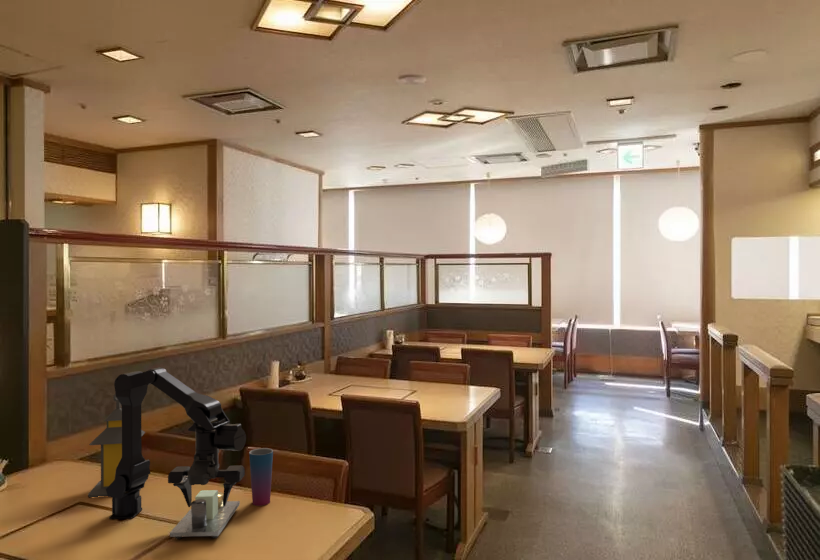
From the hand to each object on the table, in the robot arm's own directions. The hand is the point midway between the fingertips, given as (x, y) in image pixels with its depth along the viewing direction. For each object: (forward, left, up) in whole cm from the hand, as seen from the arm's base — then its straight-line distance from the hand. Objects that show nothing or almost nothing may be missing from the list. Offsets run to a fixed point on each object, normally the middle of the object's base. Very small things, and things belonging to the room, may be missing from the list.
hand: (207, 506), depth 152 cm
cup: (+11, +15, -5) cm, 19 cm away
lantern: (-37, +29, -5) cm, 47 cm away
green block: (0, 0, -2) cm, 2 cm away
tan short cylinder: (0, +7, -2) cm, 7 cm away
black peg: (0, -6, -2) cm, 7 cm away
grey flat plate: (0, 0, -5) cm, 5 cm away
